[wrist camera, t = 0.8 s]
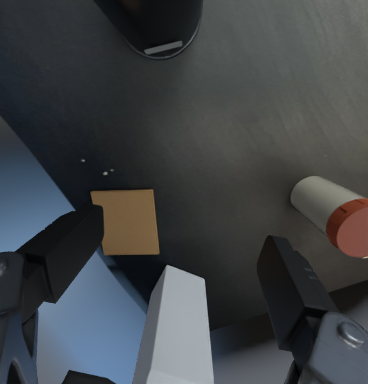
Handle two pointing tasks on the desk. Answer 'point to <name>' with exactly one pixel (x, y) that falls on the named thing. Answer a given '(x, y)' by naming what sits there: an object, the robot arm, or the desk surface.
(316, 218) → the jar
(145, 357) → the milk carton
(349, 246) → the lid
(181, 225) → the desk surface
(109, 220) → the mat
